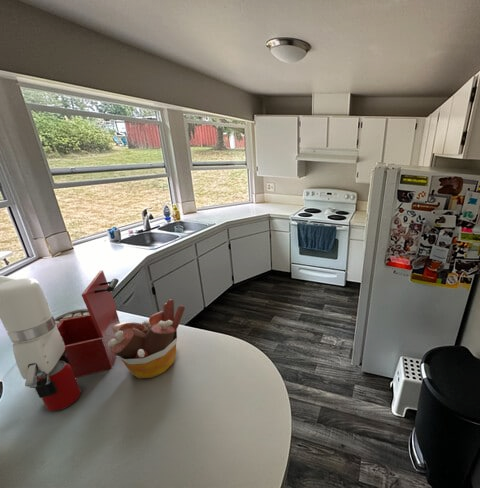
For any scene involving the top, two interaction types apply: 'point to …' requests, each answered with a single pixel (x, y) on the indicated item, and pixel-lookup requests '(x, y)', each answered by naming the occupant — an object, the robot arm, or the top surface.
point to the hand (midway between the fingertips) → (56, 381)
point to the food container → (71, 315)
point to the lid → (100, 302)
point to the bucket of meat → (148, 342)
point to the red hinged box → (87, 344)
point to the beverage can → (61, 387)
